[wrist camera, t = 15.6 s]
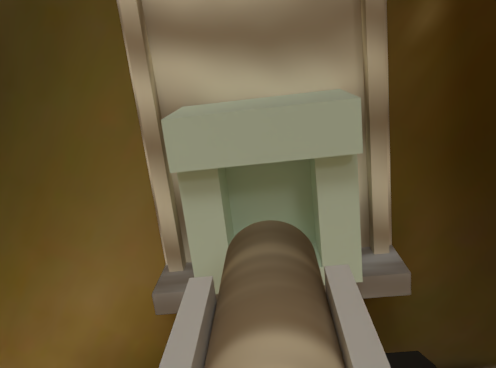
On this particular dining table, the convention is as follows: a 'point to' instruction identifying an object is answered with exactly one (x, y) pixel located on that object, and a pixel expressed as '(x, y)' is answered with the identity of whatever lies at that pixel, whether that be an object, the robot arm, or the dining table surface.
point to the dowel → (272, 304)
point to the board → (258, 86)
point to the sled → (269, 173)
